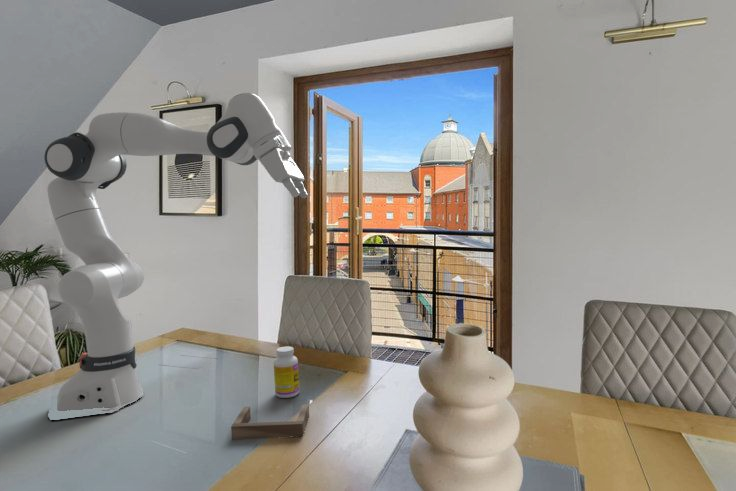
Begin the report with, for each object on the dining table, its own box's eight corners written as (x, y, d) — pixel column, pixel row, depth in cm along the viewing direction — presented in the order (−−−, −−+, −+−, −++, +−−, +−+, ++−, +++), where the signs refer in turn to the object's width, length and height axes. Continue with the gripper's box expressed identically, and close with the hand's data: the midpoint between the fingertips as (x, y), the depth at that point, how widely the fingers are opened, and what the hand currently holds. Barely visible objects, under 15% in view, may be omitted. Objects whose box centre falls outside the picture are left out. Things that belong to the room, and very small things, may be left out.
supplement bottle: (297, 398, 119) (294, 352, 118) (273, 399, 120) (270, 353, 119) (301, 388, 126) (298, 344, 125) (278, 389, 126) (275, 345, 125)
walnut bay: (244, 418, 109) (243, 406, 109) (309, 416, 109) (308, 404, 109) (231, 439, 99) (231, 426, 99) (302, 436, 99) (302, 423, 99)
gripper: (274, 161, 125) (300, 203, 125) (250, 152, 104) (280, 202, 105) (293, 149, 124) (319, 191, 124) (272, 137, 104) (302, 188, 104)
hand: (301, 196), depth 114 cm, fingers open, 8 cm apart
